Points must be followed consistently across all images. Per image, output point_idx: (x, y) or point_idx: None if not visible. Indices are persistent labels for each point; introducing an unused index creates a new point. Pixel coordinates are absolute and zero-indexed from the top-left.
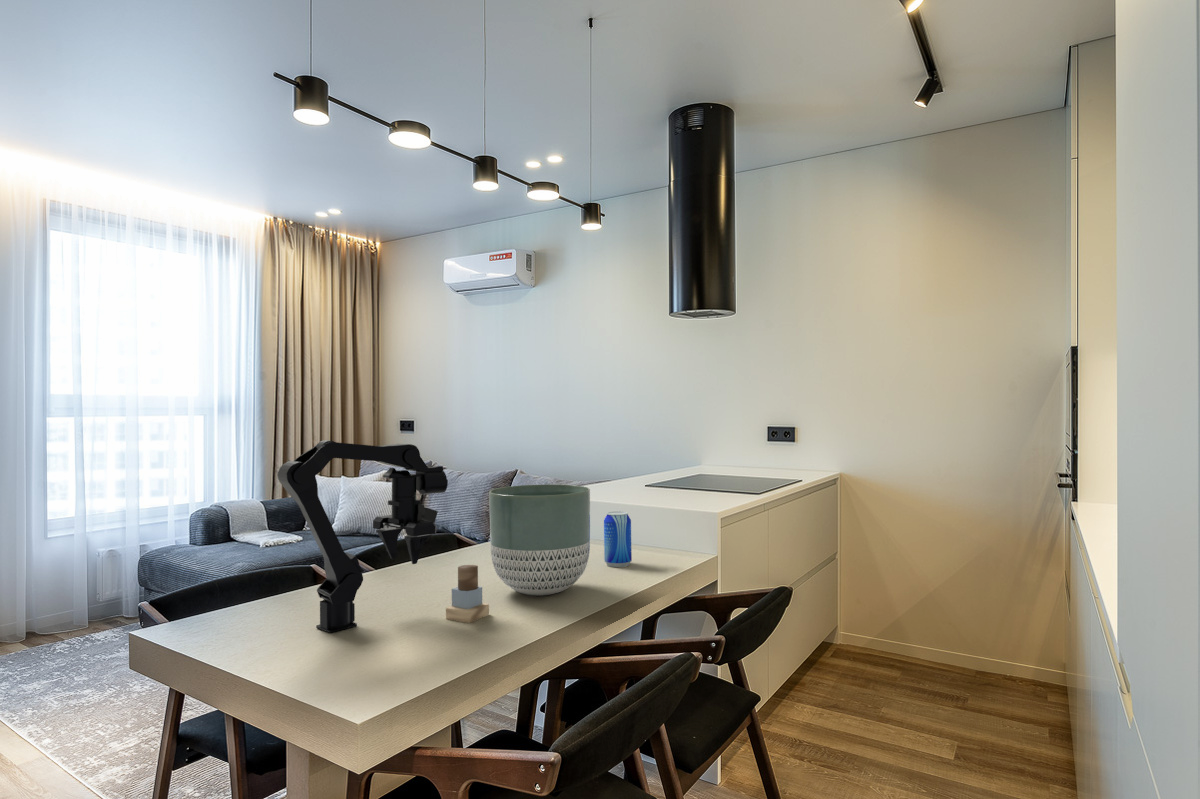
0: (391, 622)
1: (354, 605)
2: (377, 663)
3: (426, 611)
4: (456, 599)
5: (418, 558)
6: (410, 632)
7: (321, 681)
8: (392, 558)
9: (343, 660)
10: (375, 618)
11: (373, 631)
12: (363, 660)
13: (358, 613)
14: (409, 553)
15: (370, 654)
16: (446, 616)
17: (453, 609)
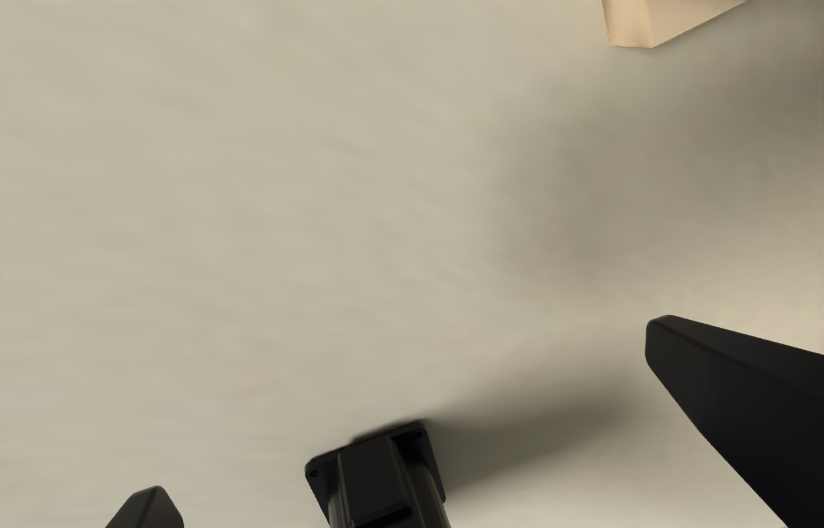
0: (464, 296)
1: (404, 493)
2: None
3: (403, 78)
4: None
5: (735, 332)
6: (643, 263)
7: (752, 500)
8: (181, 519)
9: (687, 464)
10: (351, 344)
11: (524, 375)
12: None
13: (204, 398)
14: (777, 501)
15: None
16: (621, 44)
17: (706, 19)
